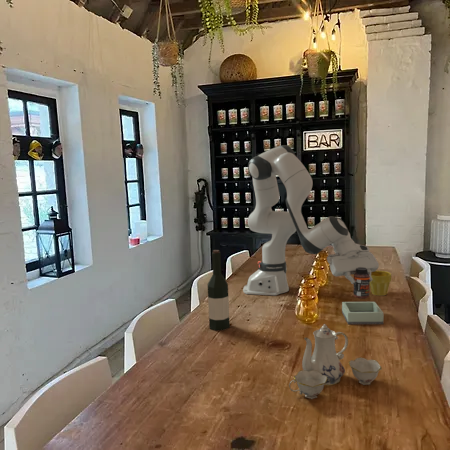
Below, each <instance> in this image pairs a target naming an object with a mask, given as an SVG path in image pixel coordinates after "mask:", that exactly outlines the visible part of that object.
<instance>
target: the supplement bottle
mask: <svg viewBox="0 0 450 450" xmlns="http://www.w3.org/2000/svg"><path fill="white" fill-rule="evenodd" d="M353 278H355V279H356V281H357V282H356V284H353V297H355V298H357V299H368V298H370V291H371V287H370V276H369V274H368V273H367V268H363V267H359V268H356V273H355V274H353Z"/></svg>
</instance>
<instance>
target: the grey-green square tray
mask: <svg viewBox="0 0 450 450" xmlns="http://www.w3.org/2000/svg"><path fill="white" fill-rule="evenodd" d="M341 313H342V315H343V317H344V319H345V321H346V323H347V325H384V311H383V310H382V309H381V308H380V307H379V305H378V304H377V302H376V301H342V302H341Z"/></svg>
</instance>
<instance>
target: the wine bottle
mask: <svg viewBox="0 0 450 450" xmlns="http://www.w3.org/2000/svg"><path fill="white" fill-rule="evenodd" d="M221 256H222V255H221V251H220V250H219V249H213V250H212V253H211V259H212V275H211V277H210V279H209V280H208V283H207V300H208V301H207V302H208V304H207V305H208V319H209V320H208V323H209V324H208V325H209V327H208V328H209V329H210V330H212V331H216V332H217V331H226V330H227V329H230V328H231V327H230V324H231V323H230V306H229V305H230V303H229V302H230V301H229V285H228V281H226V279H225V276H224V275H223V274H222V259H221Z"/></svg>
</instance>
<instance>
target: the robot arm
mask: <svg viewBox="0 0 450 450" xmlns="http://www.w3.org/2000/svg"><path fill="white" fill-rule="evenodd" d="M247 167H248V172H249V174H250V176H251V177H252V185H253V190H254V195H255V207H254V209H253V211H251V213H250V214H249V216H248V217H247V218H248V219H247V225H248V228H249V230H250V231H252V232H254V233H258V234H266V235H267V234H270V235H271V239H270V240H269V241H266V242H265V243H264V244H262V247H261V256H262V257H261V258H262V259H261V260H262V261H261V260H259V261H257V265H258V267H257V270H256V271H255V272H253V273H252V274H251V275H249V277H248V280H247V284H245V285H244V286H243V289H242V292H243V293H244V294H246V295H261V296H262V295H263V296H278V295H280V294H284V293H287V292H289V290H290V287H289V285H288V280H287V279H288V278H287V261H286V245H287V243H288V240H289V239H290V237H291V236H292V235H293V234H295V233H296V232H297V236H298V237H299V241H300V245H301V247H302V249H303V250H304V251H305V252H306V253H307V254H310V255H318V254H319V253H320V252H322V251H323V250H325V249H326V248H328V247H329V246H330V245H331V246H332V247H333V252H334V254H328V255H327V257H326V261H327V263H328V264H329V269H330V271H331V274H332V275H333V276H334V277H342V276H344V277H345V279H347V280H348V281H349V282H350V283H351V285H354V284H356V282H357V281H356V279H355V278H354V276H352V275H354V274H355V273H356V268H359V267H363V268H367V273H368V274H369V276H370V282H371V281H372V280H373V279H372V277H371V272H374V271H378V269H379V267H380V264H379V261H378V260H377V259H376V256H375V255H374V254H373V253H372V252H371V251H370V247H369V246H367V245H363V244H360V243H356V242H355V241H354V240H353V238H351V237H352V236H351V233H350V232H349V229H348V226H347V224H346V223H345V222H344V220H343V219H341V218H340V217H338V216H334V215H333V216H328V217H326V218H325V219H322V220H321V221H320V222H319V223H317V224H316V225H314V226H312V227H311V228H308V226H307V223H306V221H305V218H304V216H303V214H302V207H303V204H304V203H305V201H306V199H307V198H308V196H309V195H310V193H311V191H312V190H313V189H312V188H313V178H312V175H310V173H309V171H308V170H307V168H306V167H305V165H304V164H303V162H301V160H300V159H299V158H298V157H297V156H296V153H295V151H294V150H293V149H292V147H290V145H285V144H283V145H278V146H277V147H273V148H269V149H267V150H266V151H264V152H262V153H260V154H258V155H256V156H254V157H252V158H251V159H250V160H249V162H248V166H247ZM277 176H278V177H279V179H280V181H281V182H282V184H283V185H284V187H285V190H286V197H285V205H286V208H287V210H288V211H278V210H273V209H272V207H273V206H275V205H276V204H278V202H279V201H280V197H281V195H280V190H279V186H278V185H279V184H278V181H277Z"/></svg>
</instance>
